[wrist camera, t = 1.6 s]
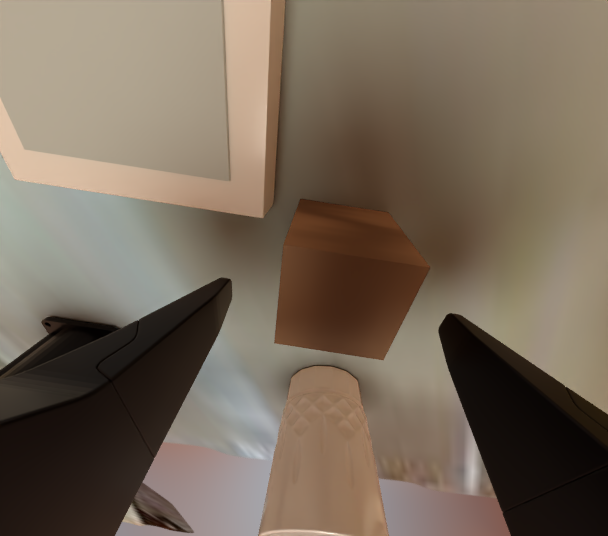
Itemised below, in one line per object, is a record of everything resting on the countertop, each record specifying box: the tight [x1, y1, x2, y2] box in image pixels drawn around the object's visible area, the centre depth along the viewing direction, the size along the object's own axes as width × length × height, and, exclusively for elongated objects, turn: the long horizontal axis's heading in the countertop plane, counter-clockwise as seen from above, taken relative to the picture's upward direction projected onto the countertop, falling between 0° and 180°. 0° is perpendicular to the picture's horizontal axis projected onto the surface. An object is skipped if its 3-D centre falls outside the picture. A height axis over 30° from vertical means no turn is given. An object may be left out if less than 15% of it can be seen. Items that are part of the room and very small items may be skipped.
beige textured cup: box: [258, 366, 389, 536], centre depth 18 cm, size 8×8×10 cm
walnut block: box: [274, 199, 430, 360], centre depth 11 cm, size 5×5×6 cm
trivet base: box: [0, 0, 285, 218], centre depth 9 cm, size 12×12×3 cm
